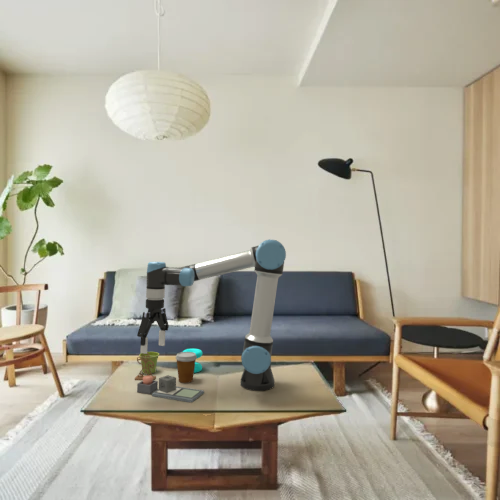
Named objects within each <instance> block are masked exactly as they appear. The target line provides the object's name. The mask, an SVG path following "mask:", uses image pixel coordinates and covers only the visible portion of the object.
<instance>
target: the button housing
mask: <svg viewBox="0 0 500 500" xmlns="http://www.w3.org/2000/svg"><path fill="white" fill-rule="evenodd" d="M136 386H137V387H136V392H137V393H141V394H145V395H146V394H148V395H152V393H154V392H155V391H157V390H158V389H159V380H153V383H152V384H150V385H146V384H143V381H142V380H140V382H137V385H136Z"/></svg>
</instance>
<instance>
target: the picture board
mask: <svg viewBox="0 0 500 500" xmlns="http://www.w3.org/2000/svg"><path fill="white" fill-rule="evenodd" d="M204 393H205V391H204V390H203V389H197V388H190V387H184V386H183V387H182V386H177V385H176V390H174V391H171V392H168V393H165V392H162V391H159V388H158V389H157V390H155V391H154V392H152V393H151V396H152V397H155V398H160V399H167V400H173V401H181V402H186V403H193V402H194V401H196V400H197V399H199V397H200V396H202V395H203V394H204Z"/></svg>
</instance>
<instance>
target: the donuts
mask: <svg viewBox="0 0 500 500" xmlns="http://www.w3.org/2000/svg"><path fill="white" fill-rule="evenodd" d="M182 352H193V353H195V354H196V356H197V358H196V360H198V359H199V358H202V356H203V354H204V353H203V351H202V350H201V349H199V348H193V347H192V348H186V349H184V350H182ZM202 370H203V365H202V364H201V362H197V361H195V368H194V374H197V373H199V372H201V371H202Z"/></svg>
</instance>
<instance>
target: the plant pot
mask: <svg viewBox="0 0 500 500" xmlns="http://www.w3.org/2000/svg"><path fill="white" fill-rule="evenodd" d="M147 353H148V354H149V355H150V358H149V357H143V358H145V359H147V358H148V359H149V360H151V361H152V362H153V363H154V366H151V367H154V368H150V365H153V363H152V362H150V361H148V362H147V363H146V368H148V364H150V365H149V370H150V371H151V373H152V374H155V373H156V371H157V364H158V359H159V356H160V353H159V352H157V351H147ZM148 354H144V353H140V354H139V355H138V357H141V359H142V355H143V356H144V355H145V356H149V355H148ZM145 359H144V360H145ZM148 359H147V360H148ZM142 360H143V359H142ZM140 363H141V364H143V367H145V363H144V361H141V360H140ZM141 364H140V365H141ZM141 370H142V371H141V373H143V374H144V375H147V374H146V372H147V373H148V375H149V374H150V372H149V370H148V369H142V368H141ZM145 370H146V372H145ZM144 372H145V373H144Z"/></svg>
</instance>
